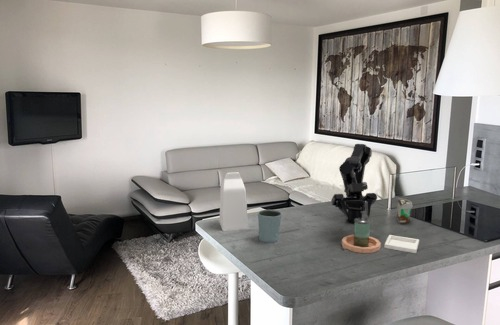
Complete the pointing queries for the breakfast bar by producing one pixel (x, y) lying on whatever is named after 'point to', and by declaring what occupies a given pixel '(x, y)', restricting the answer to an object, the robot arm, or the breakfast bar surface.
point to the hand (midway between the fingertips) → (358, 216)
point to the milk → (233, 203)
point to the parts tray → (402, 243)
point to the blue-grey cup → (269, 225)
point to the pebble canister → (361, 232)
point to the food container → (403, 210)
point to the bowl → (373, 247)
